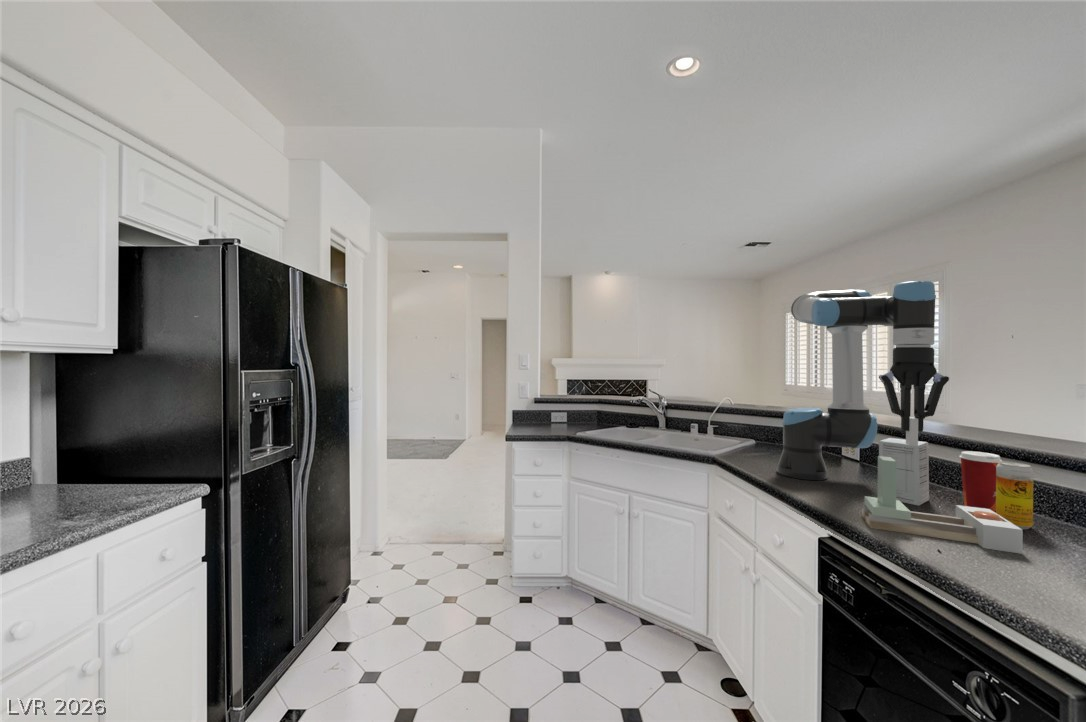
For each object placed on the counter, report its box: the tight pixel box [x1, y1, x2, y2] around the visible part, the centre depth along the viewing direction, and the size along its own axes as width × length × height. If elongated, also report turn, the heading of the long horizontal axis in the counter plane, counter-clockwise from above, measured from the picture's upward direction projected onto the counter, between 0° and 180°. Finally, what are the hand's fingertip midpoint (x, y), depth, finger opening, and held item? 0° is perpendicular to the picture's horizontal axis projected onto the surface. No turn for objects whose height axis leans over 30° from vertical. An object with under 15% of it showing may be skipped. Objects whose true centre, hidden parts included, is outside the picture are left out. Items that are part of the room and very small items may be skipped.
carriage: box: [864, 455, 911, 520], centre depth 104 cm, size 9×7×13 cm
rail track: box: [861, 504, 979, 545], centre depth 101 cm, size 9×19×3 cm, turn 64°
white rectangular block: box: [955, 504, 1024, 554], centre depth 96 cm, size 14×6×5 cm, turn 154°
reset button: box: [974, 511, 1000, 521], centre depth 96 cm, size 4×4×4 cm
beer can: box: [995, 461, 1034, 530], centre depth 104 cm, size 6×6×15 cm
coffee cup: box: [959, 450, 1004, 513], centre depth 116 cm, size 8×8×15 cm
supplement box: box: [878, 437, 930, 507], centre depth 124 cm, size 10×9×17 cm
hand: (911, 444), depth 102 cm, fingers closed
